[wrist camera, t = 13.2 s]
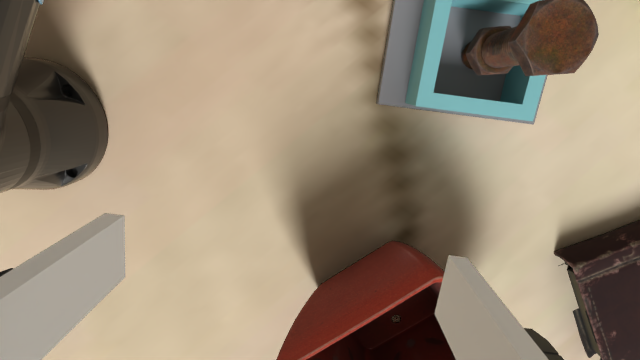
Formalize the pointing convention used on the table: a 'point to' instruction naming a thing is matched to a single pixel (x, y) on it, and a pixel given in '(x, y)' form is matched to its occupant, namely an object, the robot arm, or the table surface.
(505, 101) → the socket
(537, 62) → the bolt
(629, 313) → the diary
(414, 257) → the plant pot
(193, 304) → the table surface
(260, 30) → the table surface
